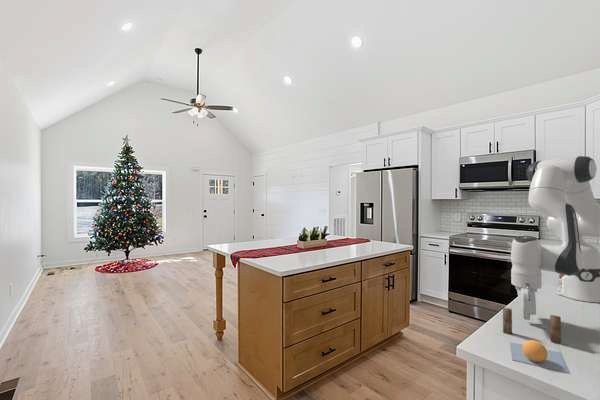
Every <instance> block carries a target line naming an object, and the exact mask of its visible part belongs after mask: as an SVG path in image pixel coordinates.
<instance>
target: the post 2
mask: <svg viewBox="0 0 600 400" xmlns="http://www.w3.org/2000/svg"><path fill="white" fill-rule="evenodd" d="M549 317H550V318H549V321H550V322H549V324H550V325H549V327H550V329H549V330H550V333H549V334H550V342H551V343H553V344H558V345H560V344H562V320H561V319H562V318H561V317H560V316H559V315H553V314H551V315H550V316H549Z"/></svg>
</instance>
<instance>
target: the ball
mask: <svg viewBox="0 0 600 400" xmlns="http://www.w3.org/2000/svg"><path fill="white" fill-rule="evenodd" d="M522 345H523V352H524V354H525V356H526V357H527V358H528V359H530V360H532V361H534V362H542V361H544V360H545V359H546V358H547V350H548V349H547V348H546V347H545V345H543V344H542V343H541V342H539V341H537V340H534V339H530V340H526V341H525V342H524V343H523V344H522Z"/></svg>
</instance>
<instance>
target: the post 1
mask: <svg viewBox="0 0 600 400" xmlns="http://www.w3.org/2000/svg"><path fill="white" fill-rule="evenodd" d="M502 333H503V334H507V335H513V309H511V308H509V307H503V308H502Z"/></svg>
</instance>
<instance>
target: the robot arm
mask: <svg viewBox="0 0 600 400" xmlns="http://www.w3.org/2000/svg"><path fill="white" fill-rule="evenodd" d="M596 174H597V164H596V162H595V159H593V158H592V157H590V156H582V155H579V156H567V157H564V156H563V157H557V158H552V159H546V160H545V159H544V160H538V161H534V162H531V163H530V165H528V167H527V170H526V178H527V179H528V181H529V182H530V186H529V190H528V198H527V199H528V200H527V201H528V205H529V206H530V208H531V209H532V210H533V211H535V212H537V213H539V214H540V215H543V216H546V217H547V219H546V227H547V229H548V230H549V231H550V232H551V233H553V234H554V235H556V236H557V237H558V238H559V239H560V240H561V241H560V242H562V244H561V245H553V244H552V245H551V244H543V243H540V241H539V238H538V237H536V236H532V235H519V236H515V237H514V238H513V239H512V242H511V250H510V261H511V265H512V266H511V269H510V277H511V278H510V281H511V285H513V286H515V289H516V292H517V297H518V301H519V304H520V307H521V310H522V311H521V312H522V317H523V319H524V320H526V321H530V320H531V316H536V314H537V304H536V303H537V299H536V293H538V289H542V286H543V285H542V283H543V282H542V277H543V276H542V271H546V272H551V273H557V274H558V275H559V274H564V276H563V277H562V279H561V278H560V279H559V278H558V284H559V285H558V286H557V287H556V292H555V294H556V295H558V296H562V297H567V298H569V299H573V300H577V301H581V302H589V303H600V251H599V249H598V248H596V247H595V246H594V245H592V244H589V243H587V242H586V240H584V239H583V237H588V238H589V237H592V238H600V203H598V202H597V200H596V199H595V196H594V193H593V190H592V187H591V186H592V185H591V182H590V181H592V180H593V179H594V178H595V177H596ZM561 284H562V285H561Z"/></svg>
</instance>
